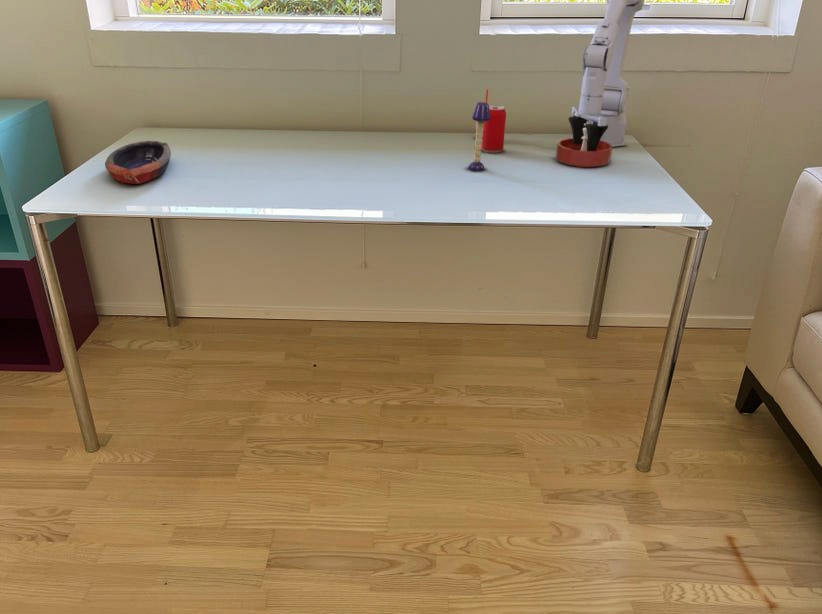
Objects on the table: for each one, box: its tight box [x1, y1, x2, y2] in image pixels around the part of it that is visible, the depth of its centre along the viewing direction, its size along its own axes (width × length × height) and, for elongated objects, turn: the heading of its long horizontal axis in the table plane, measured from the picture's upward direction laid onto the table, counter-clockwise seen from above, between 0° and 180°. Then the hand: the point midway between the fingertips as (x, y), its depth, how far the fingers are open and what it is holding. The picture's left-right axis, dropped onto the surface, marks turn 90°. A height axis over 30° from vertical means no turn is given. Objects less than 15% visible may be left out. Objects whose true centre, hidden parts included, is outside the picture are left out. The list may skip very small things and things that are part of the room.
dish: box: [104, 140, 172, 185], centre depth 186 cm, size 16×31×5 cm, turn 4°
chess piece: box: [581, 121, 592, 151], centre depth 194 cm, size 5×5×10 cm
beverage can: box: [481, 104, 507, 154], centre depth 203 cm, size 6×6×12 cm
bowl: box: [555, 137, 613, 168], centre depth 196 cm, size 14×14×4 cm
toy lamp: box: [467, 101, 490, 172], centre depth 186 cm, size 5×5×17 cm
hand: (584, 147), depth 195 cm, fingers open, 7 cm apart
